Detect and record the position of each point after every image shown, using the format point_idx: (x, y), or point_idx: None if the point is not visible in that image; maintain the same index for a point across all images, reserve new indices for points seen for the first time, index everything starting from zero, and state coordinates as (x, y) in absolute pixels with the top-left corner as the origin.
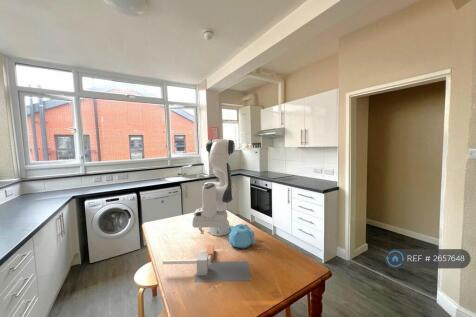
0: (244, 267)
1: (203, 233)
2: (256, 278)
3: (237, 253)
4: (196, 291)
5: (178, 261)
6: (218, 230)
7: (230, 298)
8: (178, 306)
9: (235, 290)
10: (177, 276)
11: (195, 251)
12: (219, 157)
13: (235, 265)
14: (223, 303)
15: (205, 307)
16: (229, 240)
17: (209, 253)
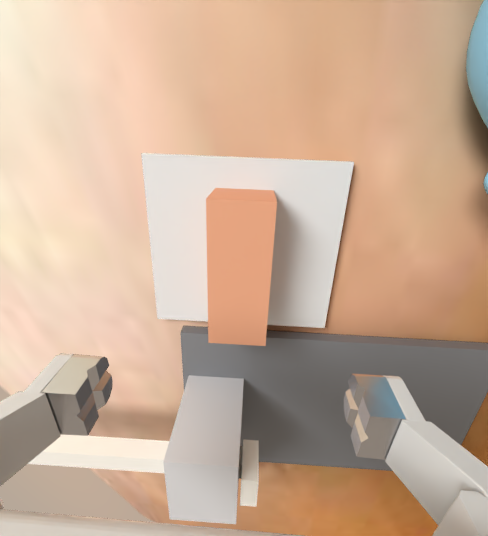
0: (456, 399)
1: (106, 387)
2: (480, 447)
3: (470, 225)
4: None
5: (52, 463)
6: (398, 463)
7: (337, 508)
8: (165, 512)
9: (362, 486)
10: None
11: (102, 162)
12: None
13: (407, 380)
14: (310, 518)
15: (252, 522)
16: (482, 67)
17: (239, 341)
